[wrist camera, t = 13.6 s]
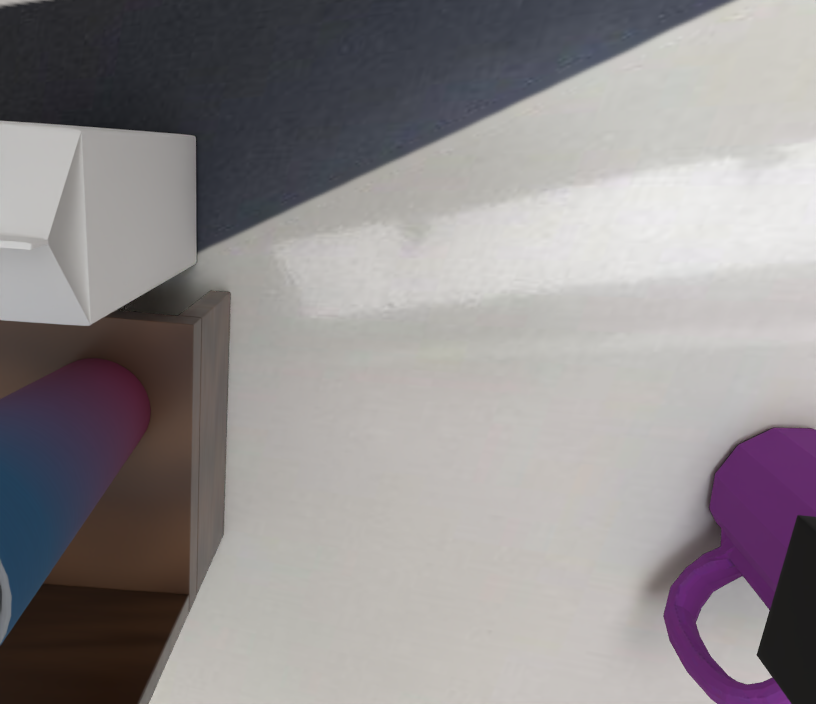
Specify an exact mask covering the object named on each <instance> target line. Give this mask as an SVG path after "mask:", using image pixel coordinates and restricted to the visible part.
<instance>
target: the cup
mask: <svg viewBox="0 0 816 704" xmlns="http://www.w3.org/2000/svg"><path fill="white" fill-rule="evenodd" d="M150 413H151V409H150V401H149V398H148V395H147V393H146V390H145V389H144V387H143V385H142V384H141V382H140V381H139V380H138V379H137V378H136V376H135V375H134V374H132V373H131V372H130V371H129V370H127V369H126V368H124V367H123V366H121V365H119V364H117V363H115V362H112V361H109V360H105V359H98V358H88V359H82V360H77V361H75V362H72V363H70V364H68V365H66V366H64V367H62V368H60V369H58V370H56V371H54V372H52V373H50V374H48V375H46V376H44V377H43V378H41V379H39V380H37V381H35V382H33V383H31V384H29V385H27V386H25V387H23V388H21V389H19V390H17V391H15V392H13V393H11V394H9V395H7V396H5V397H3V398H1V399H0V646H1V644H2V643H3V641H4V640H5V638H6V637H7V635H8V634H9V632H10V631H11V630H12V628H13V627H14V625H15V624H16V622H17V621H18V619H19V618H20V616H21V615H22V613H23V612H24V610H25V609H26V607H27V606H28V605H29V603H30V602H31V600H32V599H33V597H34V596H35V594H36V593H37V591H38V590H39V588H40V587H41V585H42V584H43V582H44V581H45V580H46V578H47V577H48V575H49V574H50V572H51V571H52V569H53V568H54V566H55V565H56V563H57V562H58V560H59V559H60V557H61V556H62V554H63V553H64V552H65V550H66V549H67V547H68V546H69V544H70V543H71V541H72V540H73V538H74V537H75V535H76V534H77V532H78V531H79V529H80V528H81V527H82V525H83V524H84V522H85V521H86V519H87V518H88V516H89V515H90V513H91V512H92V510H93V509H94V507H95V506H96V504H97V503H98V502H99V500H100V499H101V497H102V496H103V494H104V493H105V491H106V490H107V488H108V487H109V485H110V484H111V482H112V481H113V479H114V478H115V477H116V475H117V474H118V472H119V471H120V469H121V468H122V466H123V465H124V463H125V462H126V460H127V459H128V457H129V456H130V454H131V453H132V452H133V450H134V449H135V447H136V446H137V444H138V443H139V441H140V440H141V438H142V437H143V435H144V433H145V432H146V430H147V428H148V425H149V421H150Z"/></svg>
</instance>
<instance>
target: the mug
mask: <svg viewBox="0 0 816 704" xmlns="http://www.w3.org/2000/svg"><path fill="white" fill-rule="evenodd" d="M709 509H710V511H711V513H712V515H713V517H714V519H715V521H716V523H717V524H718V525H719V526H720V527H721V528H722V529H721V546H720V547H718V548H716V549H714V550H712V551H709V552H707V553H705V554H703V555H702V556H700V557H699V558H698V559H697V560H696V561H694V562H693V563H692V564H691V565H689V566H688V567H686V568H685V569H684V571H683V572H682V573H681V574H680V576H679V577H678V578H677V579H676V581H675V582H674V583H673V584H672V586H671V587H670V591H669V595H668V599H667V603H666V607H665V611H664V620H665V624H666V628H667V632H668V636H669V640H670V642H671V644H672V646H673V647H674V649H675V651H676V653H677V655H678V657H679V658H680V660H681V662H682V664H683V666H684V667H685V669H686V671H687V672H688V673H689V675H690V676H691V677H692V678H693V679H694V680H695V681H696V682H697V684H698V685H699V686H700V687H701V688H702V689H703V690H704V692H705V693H706V694H707V695H708V696H709V697H710V698H711V699H712V700H713V701H714V702H716V703H717V704H791V702H790V701H789V700H788V698H787V697H786V695H785V694H784V692H783V691H782V690H781V688H780V687H779V685H778V684H777V683H776V681H775V680H774V678H770V679H768V680H766V681H764V682H761V683H755V684H748V685H747V684H743V683H740V682H737V681H736V680H734V679H732V678H731V677H729V676H728V675H727V674H726V673H725V672H724V670H723V669H722V668H721V667H720V666H719V665H718V664H717V663H716V662H715V661H714V660H713V658H712V657H711V656H710V654H709V652H708V650H707V649H706V647H705V645H704V643H703V641H702V640H701V638H700V635H699V632H698V629H697V625H696V621H697V618H698V616H699V613H700V611H701V608H702V606H703V605H704V604H705V602H706V601H707V600H708V598H709V597H710V595H711V594H712V593H713V592H714V591H716V590H717V589H719V588H721V587H722V586H724V585H726V584H728V583H730V582H732V581H734V580H735V579H737V578H739V577H741V576H743V577H744V578H745V579H746V580H747V582H748V583H749V584H750V586H751V587H752V588H753V589H754V591H755V592H756V593H757V594H758V596H759V597H760V598H761V600H762V601H763V602H764V603H765V605H766V606H767V607H768V608H769V610H770V608H771V604H772V601H773V598H774V594H775V591H776V587H777V584H778V580H779V577H780V573H781V570H782V567H783V563H784V560H785V556H786V553H787V549H788V546H789V542H790V539H791V535H792V532H793V529H794V525H795V522H796V518H797V515H802V516H813V517H816V430H814V429H811V428H772V429H770V430H768V431H766V432H764V433H762V434H759V435H757V436H755V437H753V438H751V439H749V440H747V441H745V442H743V443H741V444H739V445H738V446H737V447H736V448H735V449H734V451H733V452H732V453H731V454H730V456H729V457H728V458H727V459H726V461H725V462H724V463H723V465H722V466H721V467H720V468H719V470H718V471H717V472H716V473H715V477H714V483H713V489H712V494H711V500H710V506H709Z"/></svg>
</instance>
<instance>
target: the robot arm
mask: <svg viewBox="0 0 816 704" xmlns="http://www.w3.org/2000/svg"><path fill="white" fill-rule="evenodd" d="M757 656H758V657H759V659H760V660H761V662H762V663H763V664H764V666H765V667H766V669H767V670H768V671H769V673H770V674H771V676H772V677H773V678H774V680H775V681H776V683H777V684H778V685H779V687H780V688H781V690H782V691H783V692H784V694H785V695H786V697H787V698H788V700H789V701H790V702H791V704H816V517H813V516H802V515H797V518H796V522H795V525H794V529H793V532H792V535H791V539H790V542H789V546H788V549H787V553H786V556H785V560H784V563H783V567H782V570H781V573H780V577H779V580H778V584H777V587H776V591H775V594H774V598H773V601H772V604H771V608H770V611H769V615H768V618H767V622H766V625H765V629H764V632H763V635H762V639H761V642H760V646H759V649H758V653H757Z"/></svg>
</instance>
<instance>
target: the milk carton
mask: <svg viewBox="0 0 816 704" xmlns="http://www.w3.org/2000/svg"><path fill="white" fill-rule="evenodd" d="M196 262H197V242H196V137H195V136H193V135H185V134H174V133H161V132H148V131H136V130H123V129H110V128H97V127H85V126H71V125H56V124H42V123H27V122H12V121H0V320H4V321H19V322H33V323H48V324H63V325H79V326H90V325H91V324H93V323H95V322H96V321H98V320H100V319H101V318H103V317H105V316H107V315H108V314H110V313H112V312H114V311H115V310H117V309H119V308H120V307H122V306H124V305H126V304H127V303H129V302H131V301H133V300H134V299H136V298H138V297H139V296H141V295H143V294H145V293H146V292H148V291H150V290H152V289H153V288H155V287H157V286H158V285H160V284H162V283H164V282H165V281H167V280H169V279H171V278H172V277H174V276H176V275H177V274H179V273H181V272H183V271H184V270H186V269H188V268H190V267H191V266H193V265H195V264H196Z"/></svg>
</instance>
